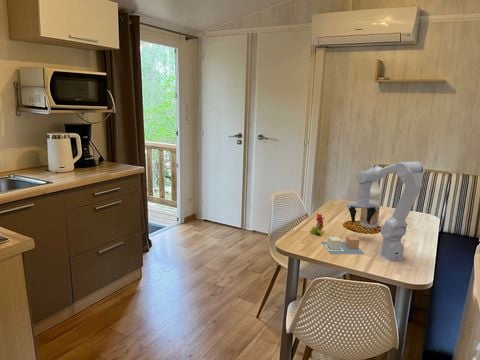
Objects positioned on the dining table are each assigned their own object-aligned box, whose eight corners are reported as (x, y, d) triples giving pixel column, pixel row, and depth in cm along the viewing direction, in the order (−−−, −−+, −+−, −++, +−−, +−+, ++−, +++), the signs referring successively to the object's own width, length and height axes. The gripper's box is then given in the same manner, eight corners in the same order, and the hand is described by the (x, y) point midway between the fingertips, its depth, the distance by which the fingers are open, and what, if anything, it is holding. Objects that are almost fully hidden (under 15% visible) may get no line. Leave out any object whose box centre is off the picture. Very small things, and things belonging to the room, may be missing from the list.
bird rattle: (312, 235, 189) (308, 233, 181) (316, 214, 191) (312, 212, 183) (324, 237, 187) (320, 236, 179) (328, 216, 188) (325, 214, 180)
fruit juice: (358, 227, 199) (364, 177, 193) (360, 222, 207) (366, 174, 201) (376, 230, 195) (383, 179, 189) (377, 224, 204) (383, 176, 198)
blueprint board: (364, 255, 162) (365, 254, 161) (330, 255, 160) (330, 253, 160) (352, 243, 175) (353, 241, 175) (320, 243, 174) (321, 241, 174)
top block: (358, 249, 167) (359, 239, 166) (348, 248, 167) (350, 239, 166) (354, 245, 171) (355, 236, 170) (345, 245, 171) (346, 236, 170)
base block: (340, 249, 165) (341, 240, 164) (330, 249, 165) (331, 240, 164) (336, 245, 170) (337, 236, 169) (327, 245, 169) (328, 236, 168)
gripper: (374, 193, 179) (371, 219, 181) (346, 193, 177) (343, 219, 180) (380, 197, 172) (377, 224, 175) (351, 196, 171) (348, 223, 173)
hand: (360, 222), depth 177 cm, fingers open, 7 cm apart
